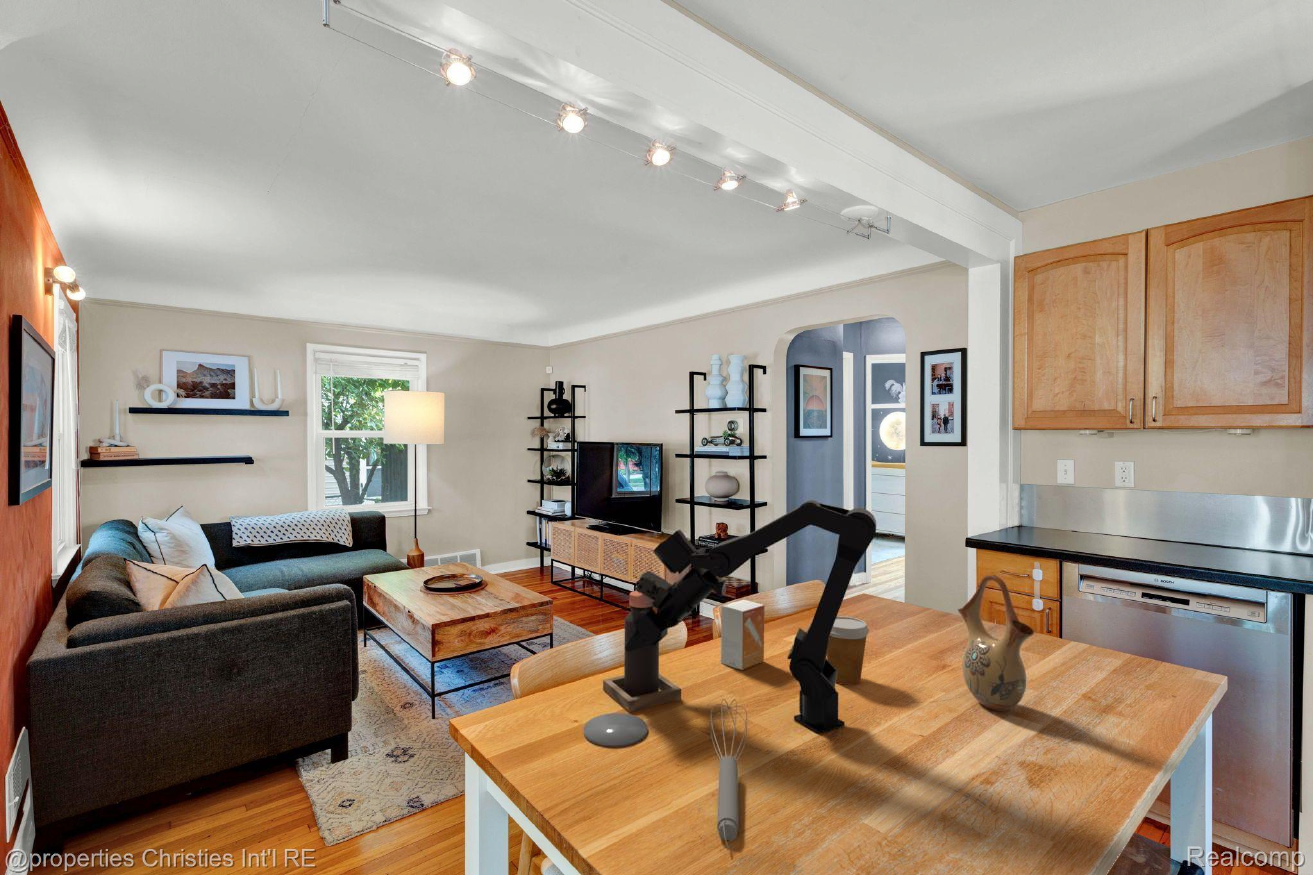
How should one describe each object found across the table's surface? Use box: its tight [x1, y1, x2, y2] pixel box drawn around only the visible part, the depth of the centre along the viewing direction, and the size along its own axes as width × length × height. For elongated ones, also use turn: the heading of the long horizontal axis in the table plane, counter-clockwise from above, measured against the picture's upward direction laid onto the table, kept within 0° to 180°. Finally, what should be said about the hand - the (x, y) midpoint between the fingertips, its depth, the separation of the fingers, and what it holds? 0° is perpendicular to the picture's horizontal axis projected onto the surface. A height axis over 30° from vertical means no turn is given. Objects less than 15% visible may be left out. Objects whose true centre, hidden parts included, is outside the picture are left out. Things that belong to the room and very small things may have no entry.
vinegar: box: [623, 590, 660, 697], centre depth 123 cm, size 7×7×20 cm
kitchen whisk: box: [710, 698, 748, 850], centre depth 93 cm, size 6×34×6 cm, turn 173°
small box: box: [720, 599, 766, 671], centre depth 140 cm, size 8×6×13 cm
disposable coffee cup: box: [826, 615, 870, 686], centre depth 131 cm, size 10×10×12 cm
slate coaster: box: [583, 712, 648, 748], centre depth 108 cm, size 11×11×1 cm
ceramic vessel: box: [957, 574, 1035, 712], centre depth 118 cm, size 16×9×25 cm, turn 17°
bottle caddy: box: [602, 673, 682, 713], centre depth 123 cm, size 11×11×2 cm
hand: (635, 642), depth 123 cm, fingers open, 9 cm apart
